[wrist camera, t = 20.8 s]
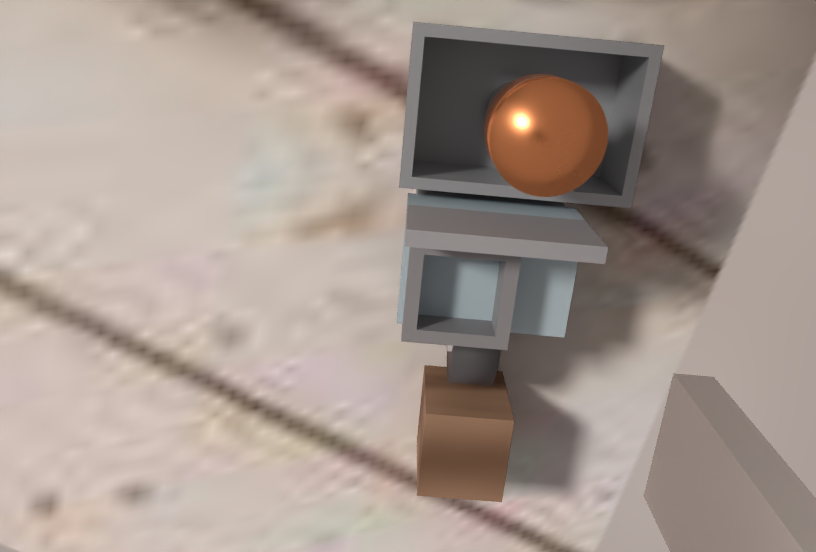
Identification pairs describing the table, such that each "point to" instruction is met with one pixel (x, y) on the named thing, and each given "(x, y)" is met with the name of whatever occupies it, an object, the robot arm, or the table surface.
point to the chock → (463, 438)
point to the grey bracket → (488, 274)
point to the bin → (507, 61)
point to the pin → (545, 134)
